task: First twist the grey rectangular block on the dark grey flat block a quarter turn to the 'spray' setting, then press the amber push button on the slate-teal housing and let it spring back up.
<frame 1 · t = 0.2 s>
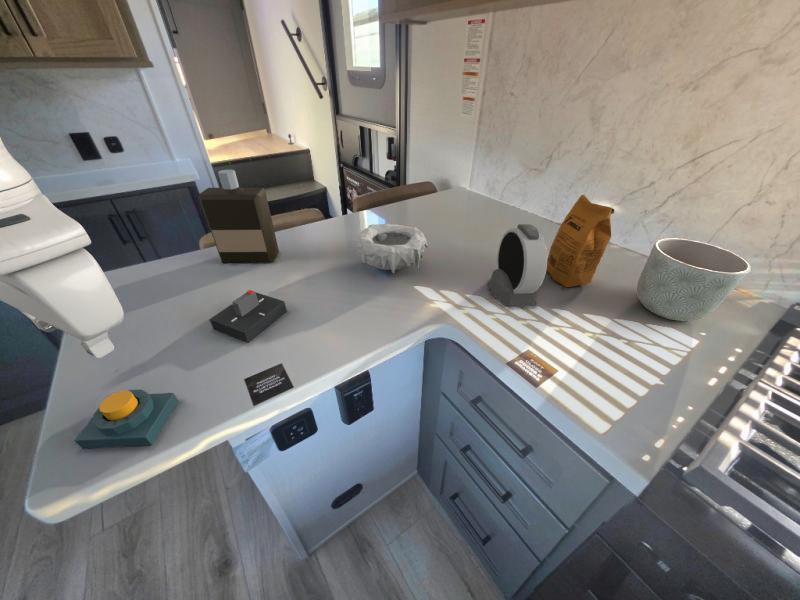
hand: (77, 339, 35), 21 cm above the worktop, tool pointing down, fingers open, 8 cm apart
grey rectangular block: (246, 302, 69), point 5 cm above the worktop, hinge at 0.0°
dark grey flat block: (251, 320, 72), on the worktop
trigger button: (119, 405, 48), point 5 cm above the worktop, slide at 0.1 cm
alarm clock: (511, 293, 83), on the worktop
bowl: (391, 264, 94), on the worktop
planter: (664, 309, 78), on the worktop
bottle: (251, 258, 96), on the worktop
coffee package: (565, 277, 90), on the worktop
trigger housing: (133, 423, 50), on the worktop
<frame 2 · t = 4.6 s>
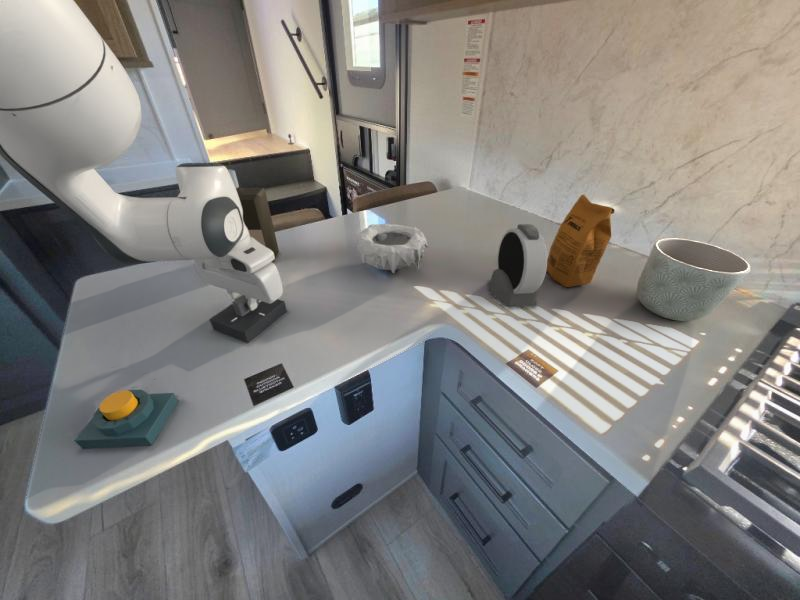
hand: (247, 306, 70), 4 cm above the worktop, tool pointing down, fingers closed on grey rectangular block, 2 cm apart
grey rectangular block: (246, 302, 69), point 5 cm above the worktop, hinge at -0.1°, touching gripper
everything else where it was.
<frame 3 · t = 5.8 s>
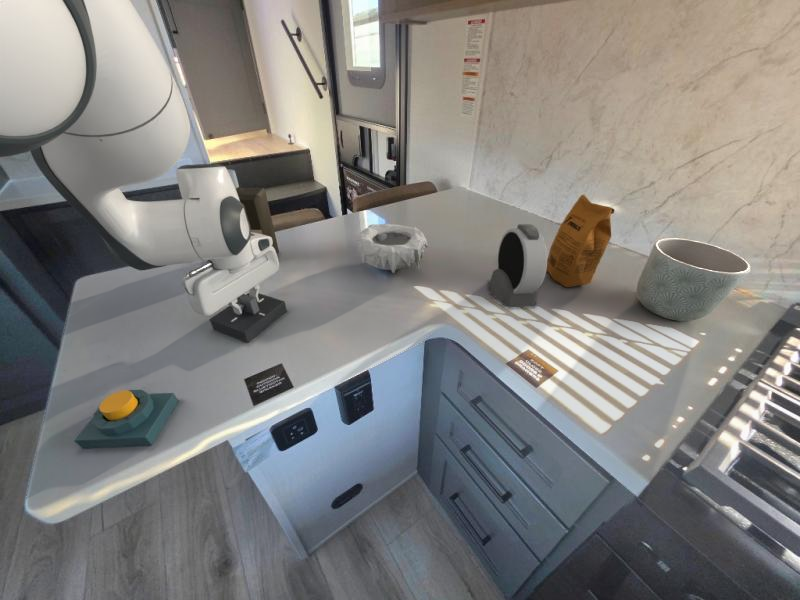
hand: (247, 307, 70), 4 cm above the worktop, tool pointing down, fingers open, 3 cm apart
grey rectangular block: (246, 302, 69), point 5 cm above the worktop, hinge at 90.0°
everything else where it was.
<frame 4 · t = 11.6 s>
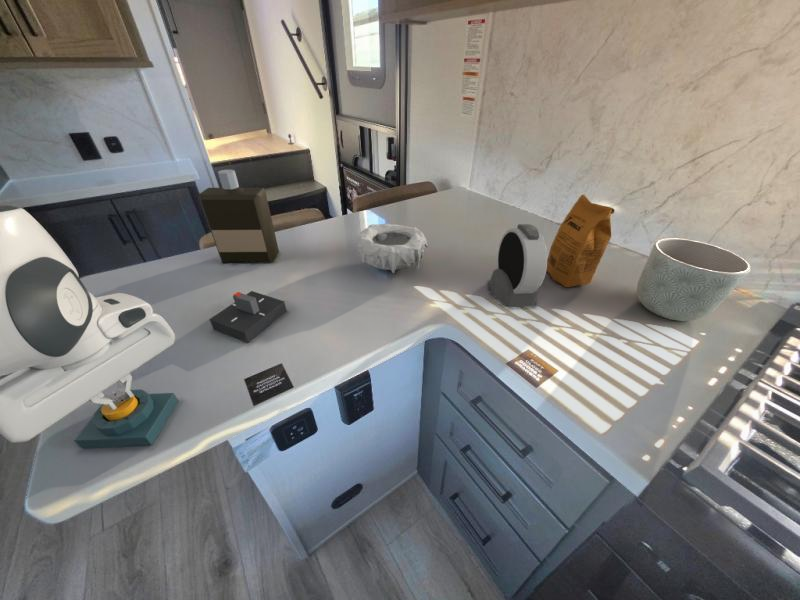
hand: (121, 401, 48), 5 cm above the worktop, tool pointing down, fingers closed, pressing on trigger button
trigger button: (121, 407, 48), point 4 cm above the worktop, slide at -0.4 cm, touching gripper
everything else where it was.
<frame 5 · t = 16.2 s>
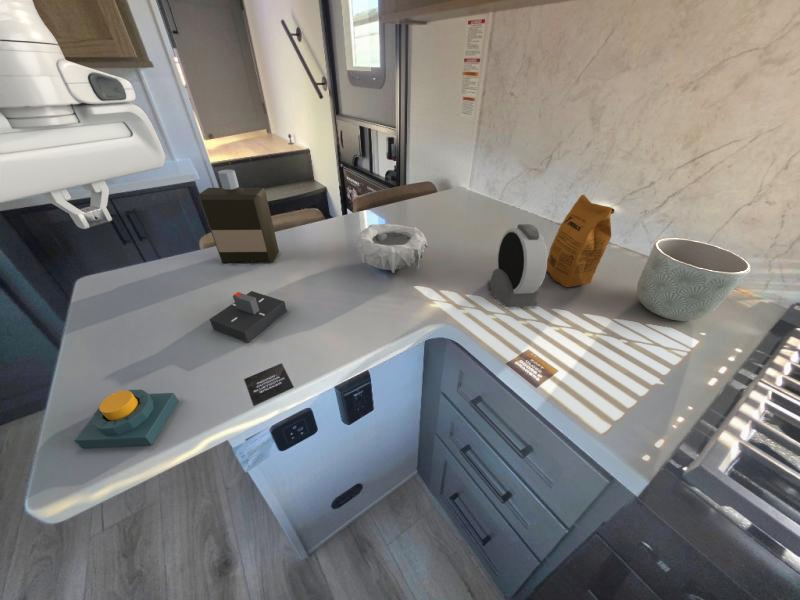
hand: (95, 224, 37), 31 cm above the worktop, tool pointing down, fingers closed
trigger button: (119, 405, 48), point 5 cm above the worktop, slide at 0.1 cm
everything else where it was.
at the end: grey rectangular block at +90° (first picture: +0°); trigger button pushed in 1.1 cm at the most during the clip, back to where it started at the end; trigger button slide at 0.1 cm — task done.
